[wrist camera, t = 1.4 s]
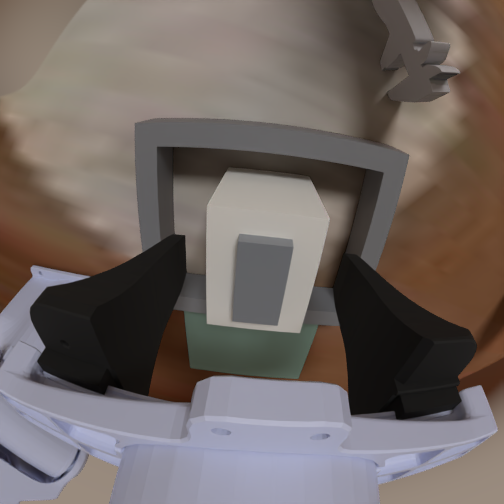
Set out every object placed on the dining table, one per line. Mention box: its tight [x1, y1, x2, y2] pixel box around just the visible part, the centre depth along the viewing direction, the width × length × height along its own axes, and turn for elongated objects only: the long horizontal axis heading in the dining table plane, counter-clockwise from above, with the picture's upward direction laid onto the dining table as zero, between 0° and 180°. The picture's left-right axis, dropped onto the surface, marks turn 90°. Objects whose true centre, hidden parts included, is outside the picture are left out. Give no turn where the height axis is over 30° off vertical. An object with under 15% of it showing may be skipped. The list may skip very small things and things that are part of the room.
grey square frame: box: [135, 118, 409, 326], centre depth 16 cm, size 13×11×2 cm
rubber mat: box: [184, 311, 318, 379], centre depth 22 cm, size 10×8×1 cm
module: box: [206, 167, 330, 333], centre depth 14 cm, size 4×6×7 cm
